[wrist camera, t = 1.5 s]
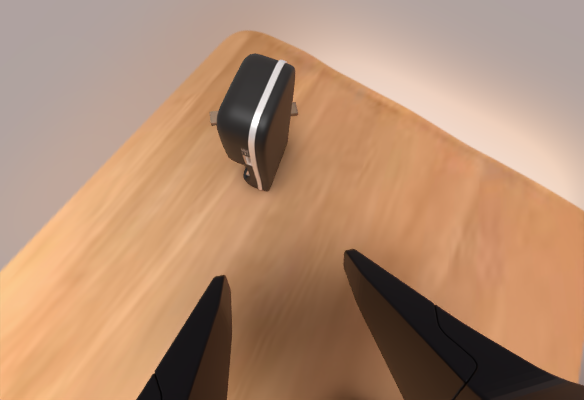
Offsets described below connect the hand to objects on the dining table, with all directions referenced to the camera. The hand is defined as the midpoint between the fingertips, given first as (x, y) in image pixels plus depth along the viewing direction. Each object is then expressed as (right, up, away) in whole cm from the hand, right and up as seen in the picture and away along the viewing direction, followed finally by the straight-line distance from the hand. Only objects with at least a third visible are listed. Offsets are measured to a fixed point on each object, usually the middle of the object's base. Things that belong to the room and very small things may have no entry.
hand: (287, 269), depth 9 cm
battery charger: (-3, +7, +16) cm, 18 cm away
